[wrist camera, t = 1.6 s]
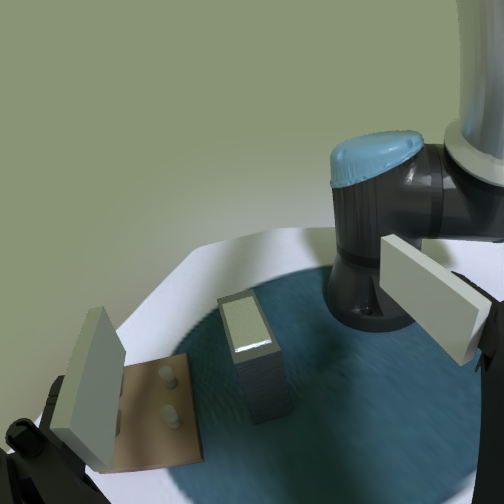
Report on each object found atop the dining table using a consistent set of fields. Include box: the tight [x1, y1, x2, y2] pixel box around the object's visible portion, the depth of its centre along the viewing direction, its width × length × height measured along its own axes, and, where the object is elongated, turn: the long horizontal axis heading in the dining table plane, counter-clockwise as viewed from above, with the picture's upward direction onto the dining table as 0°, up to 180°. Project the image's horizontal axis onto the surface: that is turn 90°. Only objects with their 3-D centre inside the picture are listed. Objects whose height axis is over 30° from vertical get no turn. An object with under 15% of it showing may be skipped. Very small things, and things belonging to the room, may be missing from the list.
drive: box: [217, 289, 292, 425], centre depth 31 cm, size 4×10×10 cm, turn 14°
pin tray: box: [98, 353, 204, 474], centre depth 31 cm, size 12×16×4 cm
